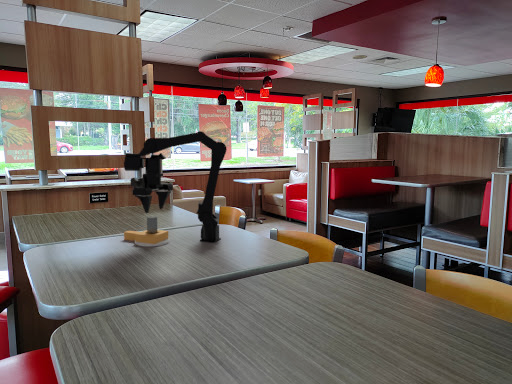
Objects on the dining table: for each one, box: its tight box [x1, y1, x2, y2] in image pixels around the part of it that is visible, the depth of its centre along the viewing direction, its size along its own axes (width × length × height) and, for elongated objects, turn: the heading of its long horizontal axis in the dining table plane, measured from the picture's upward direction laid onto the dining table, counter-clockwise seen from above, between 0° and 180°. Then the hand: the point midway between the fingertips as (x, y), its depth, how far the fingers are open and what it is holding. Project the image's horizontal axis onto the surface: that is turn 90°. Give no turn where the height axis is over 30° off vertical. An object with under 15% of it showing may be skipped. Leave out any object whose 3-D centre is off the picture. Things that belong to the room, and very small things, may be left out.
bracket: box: [123, 229, 170, 248], centre depth 146 cm, size 19×13×4 cm
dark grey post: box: [146, 216, 158, 234], centre depth 144 cm, size 3×2×9 cm
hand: (154, 210), depth 145 cm, fingers open, 9 cm apart
